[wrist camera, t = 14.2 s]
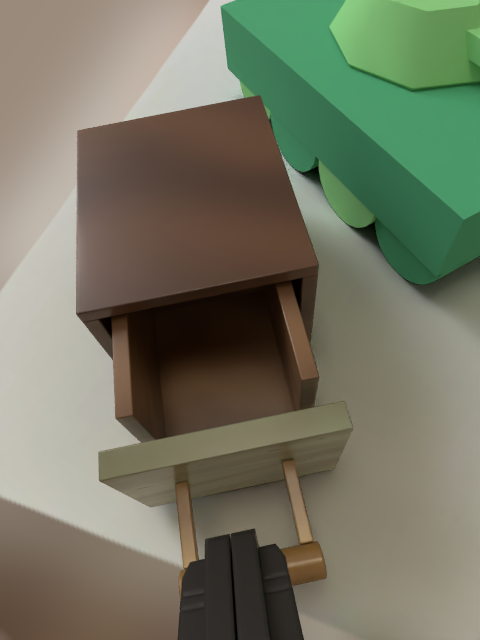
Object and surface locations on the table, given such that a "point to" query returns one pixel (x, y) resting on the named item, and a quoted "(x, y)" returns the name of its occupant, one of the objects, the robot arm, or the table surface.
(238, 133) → the cabinet
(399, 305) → the table surface
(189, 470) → the drawer
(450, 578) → the table surface
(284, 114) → the toy tank
